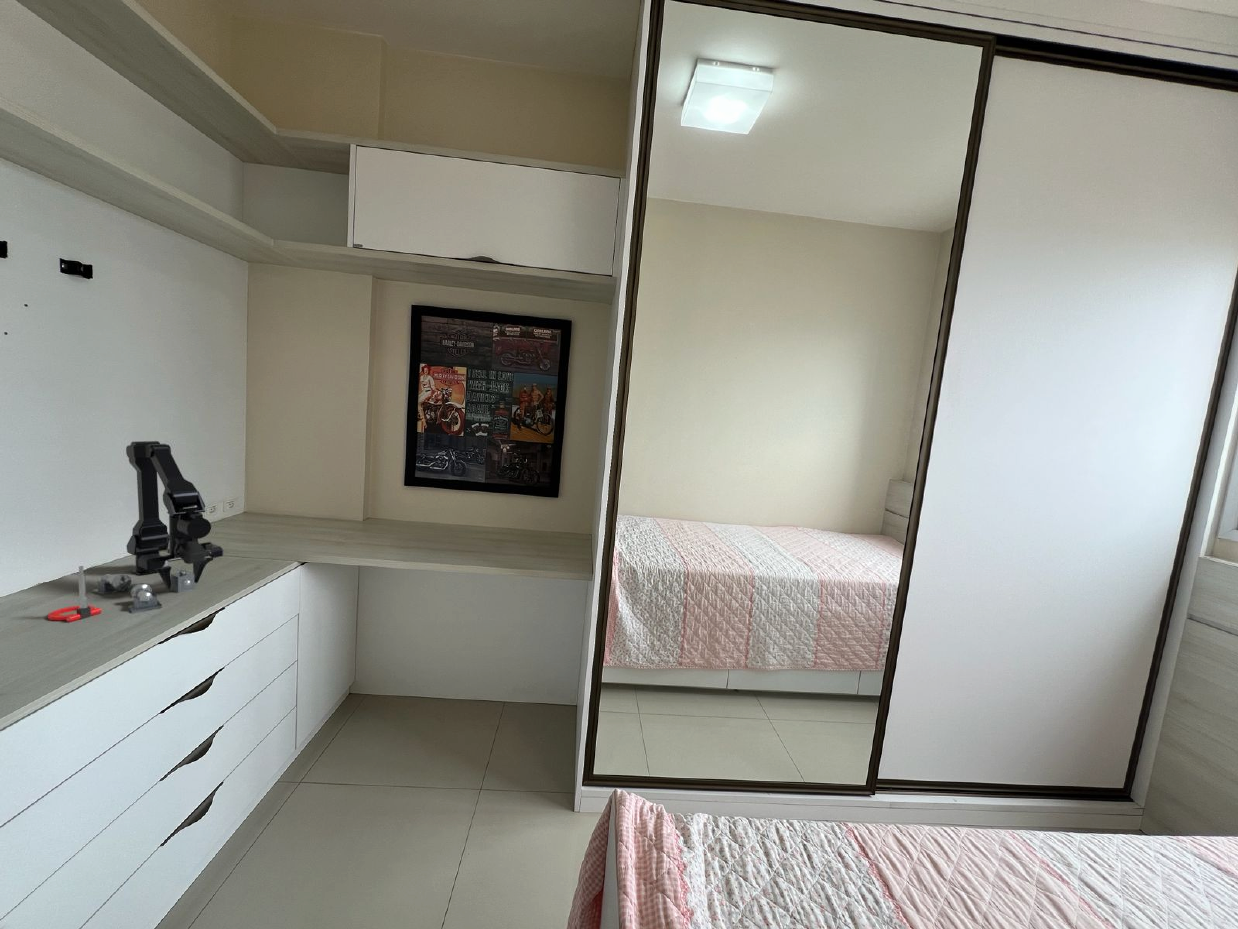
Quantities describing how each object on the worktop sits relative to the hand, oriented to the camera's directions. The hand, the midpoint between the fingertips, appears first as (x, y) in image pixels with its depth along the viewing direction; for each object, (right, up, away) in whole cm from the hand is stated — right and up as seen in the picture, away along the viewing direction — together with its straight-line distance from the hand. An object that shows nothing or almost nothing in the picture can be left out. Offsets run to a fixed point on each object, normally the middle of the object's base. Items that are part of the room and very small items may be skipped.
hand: (182, 585), depth 162 cm
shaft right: (0, -3, -13) cm, 13 cm away
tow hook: (-11, -3, -21) cm, 24 cm away
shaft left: (-14, -1, -5) cm, 15 cm away
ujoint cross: (0, -1, 0) cm, 1 cm away
